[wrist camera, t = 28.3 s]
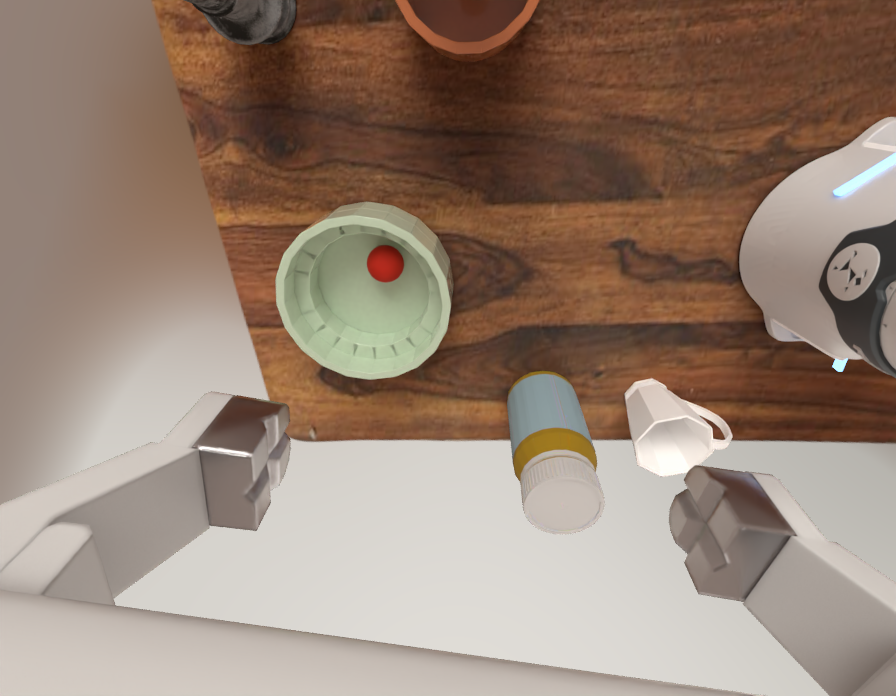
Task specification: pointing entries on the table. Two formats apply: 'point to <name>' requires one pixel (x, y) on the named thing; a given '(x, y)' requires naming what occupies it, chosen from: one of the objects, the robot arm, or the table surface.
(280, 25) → the grey chess piece
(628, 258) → the table surface
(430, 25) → the crock
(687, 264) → the table surface
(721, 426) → the cup
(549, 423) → the bottle
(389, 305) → the bowl
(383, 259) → the ball
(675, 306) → the table surface
